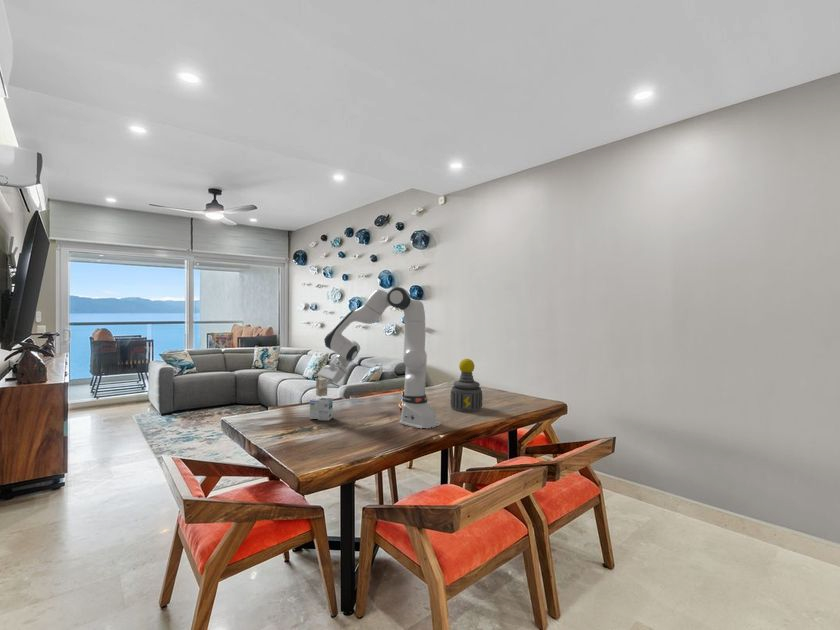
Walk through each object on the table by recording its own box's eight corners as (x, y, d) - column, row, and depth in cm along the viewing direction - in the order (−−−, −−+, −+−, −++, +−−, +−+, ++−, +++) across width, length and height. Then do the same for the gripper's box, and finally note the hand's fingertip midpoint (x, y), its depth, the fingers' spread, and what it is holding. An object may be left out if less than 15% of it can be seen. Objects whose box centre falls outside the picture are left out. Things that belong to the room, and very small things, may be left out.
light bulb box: (332, 417, 227) (333, 397, 226) (329, 420, 220) (329, 400, 220) (313, 416, 228) (313, 396, 227) (309, 420, 221) (309, 399, 221)
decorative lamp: (449, 404, 261) (450, 356, 260) (480, 405, 260) (481, 357, 260) (450, 412, 242) (451, 360, 242) (483, 413, 241) (484, 360, 241)
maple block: (327, 395, 223) (327, 378, 223) (320, 396, 220) (320, 379, 220) (323, 394, 227) (323, 377, 227) (316, 394, 224) (316, 378, 224)
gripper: (325, 360, 236) (308, 379, 230) (342, 364, 220) (325, 384, 214) (332, 367, 239) (316, 386, 233) (350, 372, 222) (332, 392, 217)
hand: (320, 385), depth 223 cm, fingers closed on maple block, 5 cm apart
